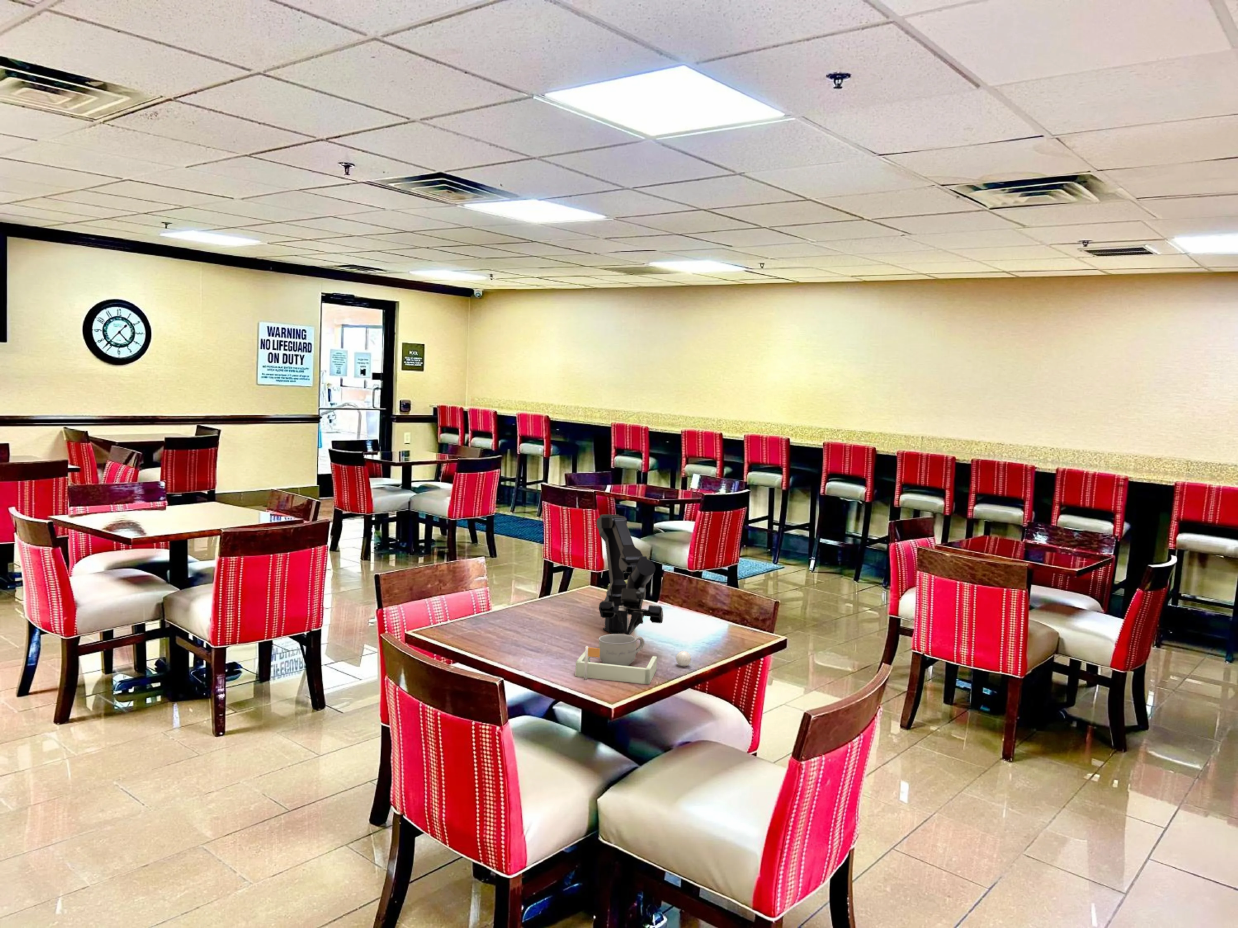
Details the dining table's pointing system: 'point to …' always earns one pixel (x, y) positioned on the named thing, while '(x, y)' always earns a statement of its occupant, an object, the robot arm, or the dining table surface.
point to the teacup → (619, 648)
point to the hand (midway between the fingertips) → (626, 637)
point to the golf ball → (683, 658)
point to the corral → (613, 669)
